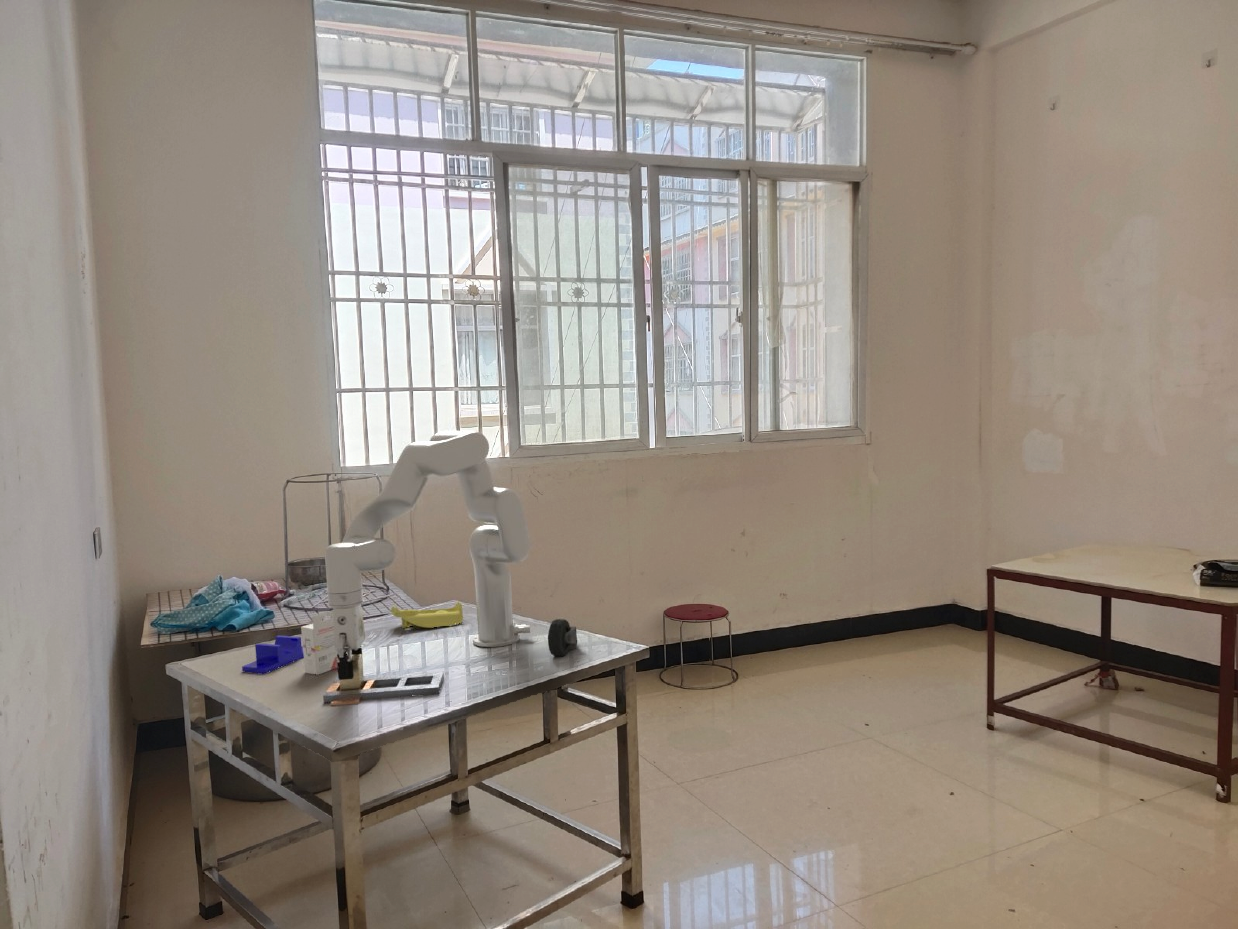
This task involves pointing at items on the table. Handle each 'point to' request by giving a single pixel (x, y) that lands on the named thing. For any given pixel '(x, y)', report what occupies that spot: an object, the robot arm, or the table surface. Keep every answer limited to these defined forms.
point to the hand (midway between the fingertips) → (351, 672)
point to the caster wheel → (561, 637)
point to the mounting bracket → (275, 654)
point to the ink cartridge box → (319, 645)
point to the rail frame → (391, 692)
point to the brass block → (358, 678)
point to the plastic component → (430, 616)
